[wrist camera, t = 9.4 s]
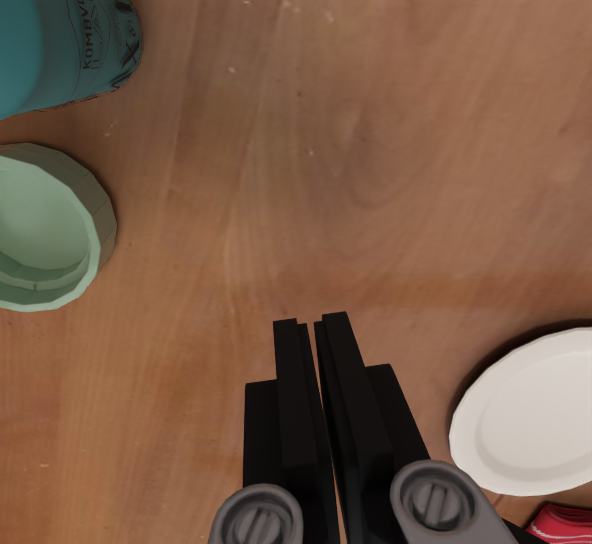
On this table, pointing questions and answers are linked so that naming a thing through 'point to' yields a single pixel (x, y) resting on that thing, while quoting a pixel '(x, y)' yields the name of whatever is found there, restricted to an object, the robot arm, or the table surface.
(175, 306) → the table surface
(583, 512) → the dish towel
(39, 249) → the celadon bowl
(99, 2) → the beverage bottle
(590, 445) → the plate
